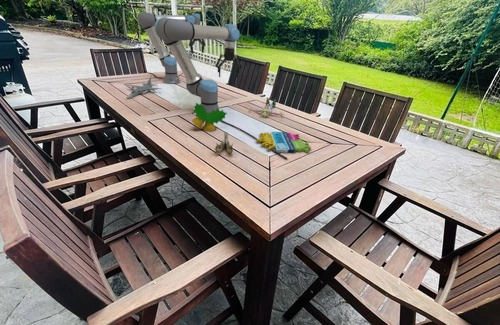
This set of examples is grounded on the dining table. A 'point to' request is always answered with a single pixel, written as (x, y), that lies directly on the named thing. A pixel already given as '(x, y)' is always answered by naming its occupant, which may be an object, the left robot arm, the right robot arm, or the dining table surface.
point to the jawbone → (224, 145)
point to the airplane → (142, 88)
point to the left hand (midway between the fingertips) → (197, 53)
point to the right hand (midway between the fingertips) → (228, 77)
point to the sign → (283, 142)
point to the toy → (267, 109)
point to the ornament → (207, 117)
